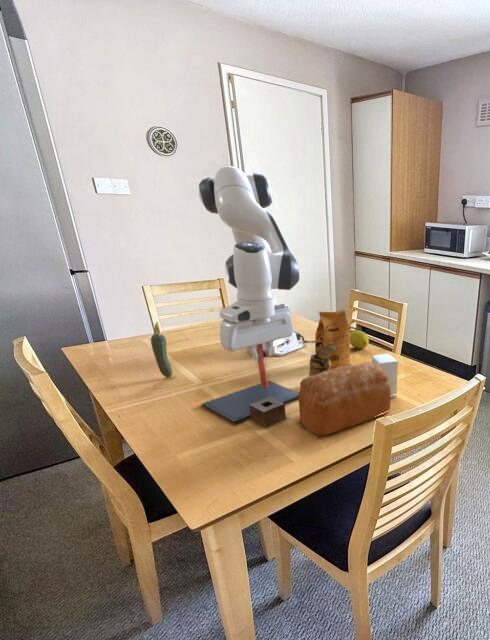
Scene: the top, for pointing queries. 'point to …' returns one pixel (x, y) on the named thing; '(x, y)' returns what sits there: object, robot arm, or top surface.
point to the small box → (388, 369)
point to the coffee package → (334, 336)
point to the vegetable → (161, 352)
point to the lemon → (358, 339)
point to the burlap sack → (321, 360)
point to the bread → (343, 397)
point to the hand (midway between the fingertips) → (261, 358)
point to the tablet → (247, 401)
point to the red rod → (262, 367)
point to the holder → (267, 411)
